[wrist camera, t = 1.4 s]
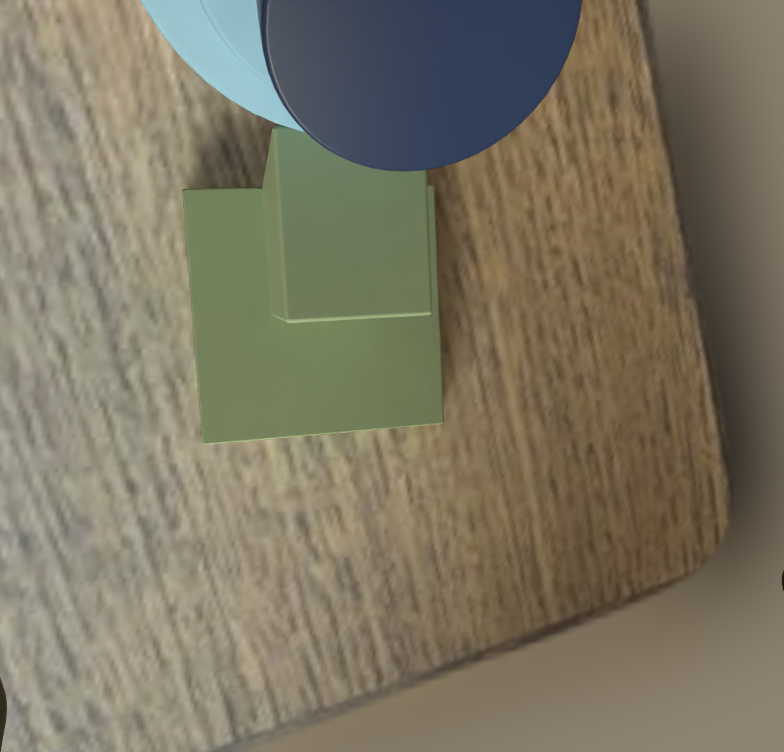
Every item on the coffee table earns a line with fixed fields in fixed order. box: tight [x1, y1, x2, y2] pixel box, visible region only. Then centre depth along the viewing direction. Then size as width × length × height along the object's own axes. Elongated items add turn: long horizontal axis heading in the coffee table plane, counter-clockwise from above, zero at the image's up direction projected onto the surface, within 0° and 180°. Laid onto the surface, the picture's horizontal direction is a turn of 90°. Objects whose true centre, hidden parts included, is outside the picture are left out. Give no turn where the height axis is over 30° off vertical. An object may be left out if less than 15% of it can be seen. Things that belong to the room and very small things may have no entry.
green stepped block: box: [182, 126, 444, 445], centre depth 14 cm, size 6×6×7 cm
